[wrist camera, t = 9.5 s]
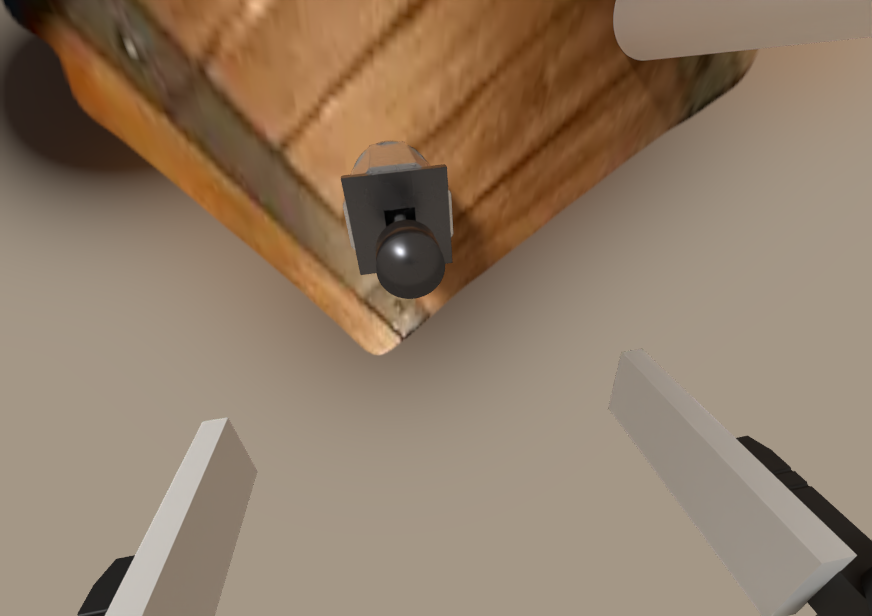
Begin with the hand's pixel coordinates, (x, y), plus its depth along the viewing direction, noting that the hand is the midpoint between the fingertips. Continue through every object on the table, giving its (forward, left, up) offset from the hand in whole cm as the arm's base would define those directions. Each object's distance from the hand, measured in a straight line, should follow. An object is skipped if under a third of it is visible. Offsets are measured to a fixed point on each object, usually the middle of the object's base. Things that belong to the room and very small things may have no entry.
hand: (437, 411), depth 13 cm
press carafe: (+2, 0, -37) cm, 37 cm away
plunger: (0, 0, -32) cm, 33 cm away
